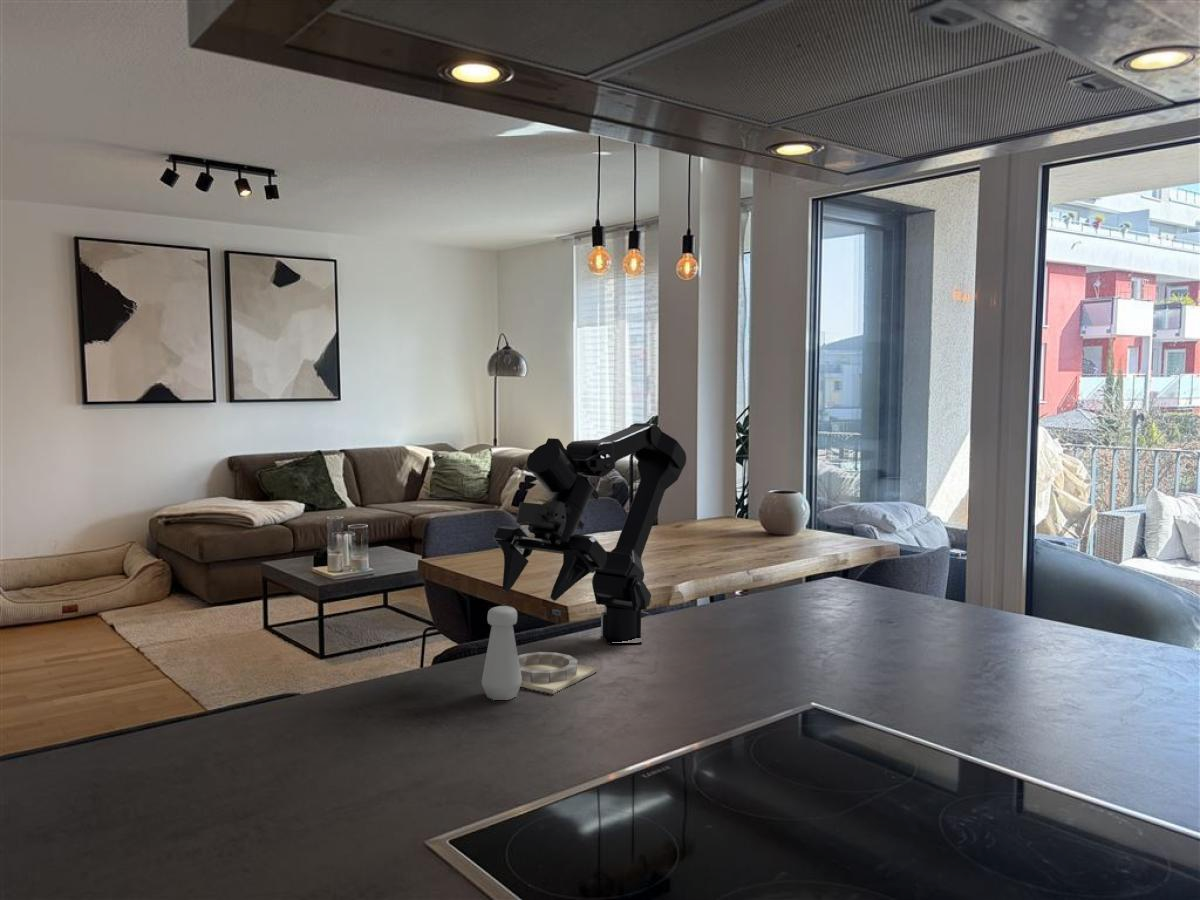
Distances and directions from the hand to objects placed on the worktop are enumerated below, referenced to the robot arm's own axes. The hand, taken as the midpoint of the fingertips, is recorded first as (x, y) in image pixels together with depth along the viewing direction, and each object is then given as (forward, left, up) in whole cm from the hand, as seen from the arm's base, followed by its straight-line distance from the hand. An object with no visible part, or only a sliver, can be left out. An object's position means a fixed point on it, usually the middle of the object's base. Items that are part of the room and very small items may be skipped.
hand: (528, 595), depth 132 cm
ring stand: (-2, -1, -13) cm, 14 cm away
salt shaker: (+4, +7, -13) cm, 16 cm away
